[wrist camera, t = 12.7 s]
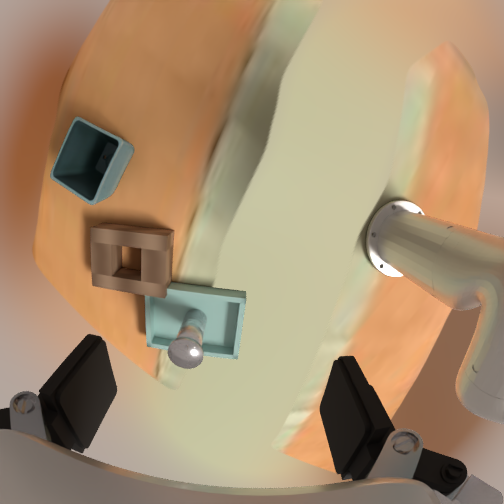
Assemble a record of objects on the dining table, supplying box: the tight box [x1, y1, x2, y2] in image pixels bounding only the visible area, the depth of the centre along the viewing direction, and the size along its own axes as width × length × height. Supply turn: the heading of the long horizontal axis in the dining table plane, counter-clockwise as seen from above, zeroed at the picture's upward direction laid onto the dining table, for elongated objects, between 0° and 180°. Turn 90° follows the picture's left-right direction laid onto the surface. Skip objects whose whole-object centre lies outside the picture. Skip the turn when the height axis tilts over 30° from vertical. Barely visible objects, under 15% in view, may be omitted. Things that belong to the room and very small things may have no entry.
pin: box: [168, 309, 207, 369], centre depth 37 cm, size 5×5×10 cm
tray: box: [145, 282, 246, 359], centre depth 41 cm, size 15×11×3 cm
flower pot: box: [50, 117, 134, 205], centre depth 31 cm, size 9×9×9 cm
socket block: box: [91, 223, 174, 299], centre depth 37 cm, size 12×9×4 cm
